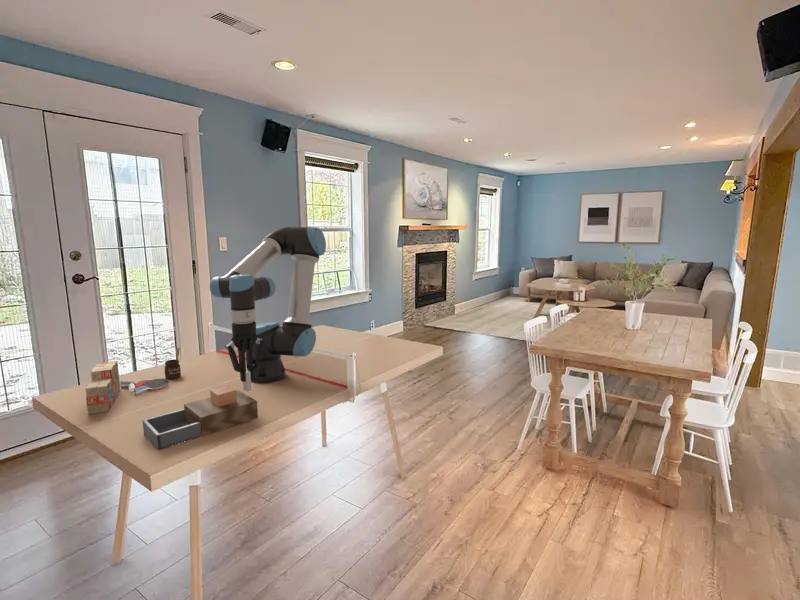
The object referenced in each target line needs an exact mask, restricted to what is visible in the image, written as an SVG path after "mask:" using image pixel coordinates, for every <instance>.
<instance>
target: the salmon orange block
mask: <svg viewBox="0 0 800 600" xmlns="http://www.w3.org/2000/svg"><path fill="white" fill-rule="evenodd" d="M236 390H237V389H235V388H233V387H231V386H230V385H225V386H221V387H217V388H213V389H210V391H209V393H210V397H211V402H212V403H213V404H215V405H216V406H218V407H221V406H224V405H228V404H231V403H235V402H237V394H236Z"/></svg>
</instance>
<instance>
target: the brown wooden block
mask: <svg viewBox="0 0 800 600" xmlns="http://www.w3.org/2000/svg"><path fill="white" fill-rule="evenodd" d="M235 390H236V394H237V402H235V403H231V404H228V405H224V406H221V407H218V406H216V405H215V404H213V403H212V402H211V396H210V397H207V398H202V399H199V400H195V401H190V402H187V403H184V404H183V409H184V410H185V421H186V422H187V423H188V424H189V425H190V424H193V423H197V422H200V424H201V435H202V436H201V437H204V435H205V436H207V435H206V434H208V435H210V434H209V433H211V434H213V432H214V433H216V431H217V432H220V431H223V430H225V428H227V429H229V427H230V428H232V426H233V427H235V425H236V426H239V425H241V424H244V423H248V422H251V421H254V420H257V419H259V414H258V410H259V409H258V408H259V407H258V400H256V399H255V398H253V397H251V396H249V395H247V394H246V393H244V392H242V391H241V390H239V389H235ZM238 424H239V425H238ZM222 429H223V430H222ZM219 430H220V431H219Z"/></svg>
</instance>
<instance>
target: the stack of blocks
mask: <svg viewBox="0 0 800 600" xmlns="http://www.w3.org/2000/svg"><path fill="white" fill-rule="evenodd" d="M118 364H119V363H118V360H113V361H112V360H111V361H103V362H97V364H95V366H94V367H93V368H92V369H91V371H90V376H91V380H90V382H89V383H88V385H87V386H86V387H85V394H86V399H85V400H86V407H87V414H88V415H91V414H98V413H106V412H110V410H111V409H112V406H113V405H114V403H115V401H116V399H117V398H116V397H118V396H119V394H120V393H121V391H120V390H121V382H120V373H119V365H118ZM119 392H120V393H119ZM118 393H119V394H118ZM117 395H118V396H117Z"/></svg>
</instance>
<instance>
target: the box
mask: <svg viewBox="0 0 800 600" xmlns="http://www.w3.org/2000/svg"><path fill="white" fill-rule="evenodd" d="M142 428H143V435H144V436H145V437H146V438H147V439H148V440H149V442H150V443H151V444H152V445H153V446H154V448H156V450H157V451H161V450H164V449H168V448H170V446H171V447H173V446H172V445H174V446H176V445H175V444H177V445H179V444H178V443H180V444H182V443H181V442H183V443H185V442H184V441H186V442H189V441H192V440H195V439H198V438H197V437H199V438H201V437H202V436H201V424H200V422H197V423H193V424H190V425H189V424H188V423H187V422H186V421H185V410H184V408H182V409H179V410H175V411H171V412H167V413H164V414H159V415H156V416H152V417H148V418H146V419H145V418H144V419H142ZM200 436H201V437H200ZM194 438H195V439H194ZM191 439H192V440H191ZM188 440H189V441H188Z"/></svg>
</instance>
